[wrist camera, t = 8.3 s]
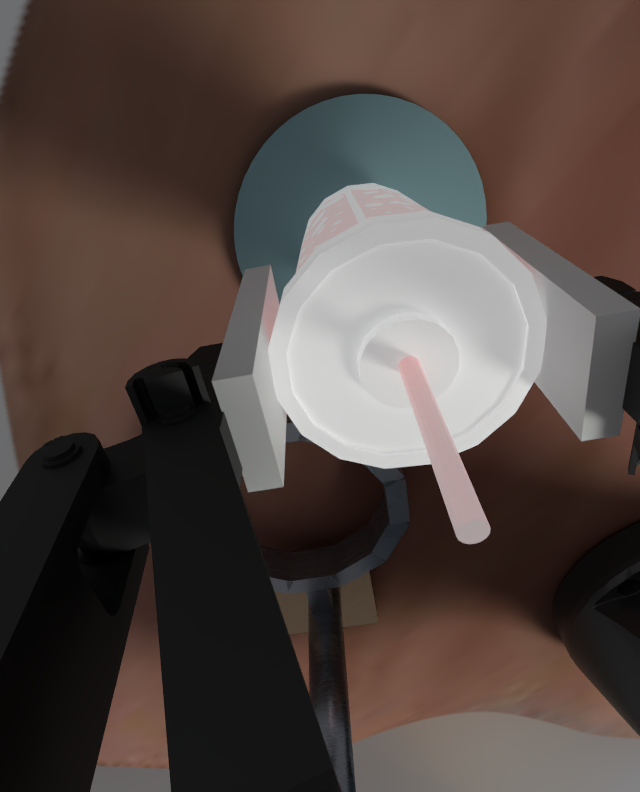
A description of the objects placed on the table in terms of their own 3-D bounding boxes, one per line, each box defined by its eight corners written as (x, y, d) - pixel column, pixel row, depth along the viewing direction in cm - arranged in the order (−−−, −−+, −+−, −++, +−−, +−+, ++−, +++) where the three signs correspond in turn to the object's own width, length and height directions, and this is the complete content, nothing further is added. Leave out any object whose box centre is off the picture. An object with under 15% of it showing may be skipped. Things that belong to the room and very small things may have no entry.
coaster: (482, 326, 23) (486, 332, 23) (266, 363, 24) (265, 369, 23) (481, 67, 18) (486, 67, 17) (204, 123, 18) (201, 124, 18)
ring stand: (414, 603, 33) (480, 905, 21) (249, 626, 34) (220, 931, 22) (387, 371, 24) (475, 665, 12) (162, 408, 25) (28, 722, 13)
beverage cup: (310, 343, 21) (323, 691, 9) (257, 191, 18) (166, 412, 6) (458, 299, 20) (692, 617, 8) (430, 132, 17) (739, 247, 5)
